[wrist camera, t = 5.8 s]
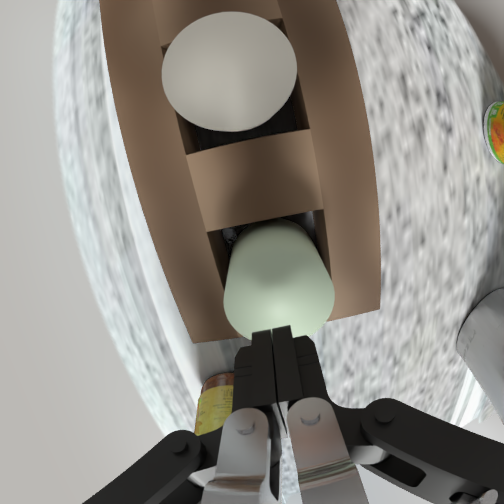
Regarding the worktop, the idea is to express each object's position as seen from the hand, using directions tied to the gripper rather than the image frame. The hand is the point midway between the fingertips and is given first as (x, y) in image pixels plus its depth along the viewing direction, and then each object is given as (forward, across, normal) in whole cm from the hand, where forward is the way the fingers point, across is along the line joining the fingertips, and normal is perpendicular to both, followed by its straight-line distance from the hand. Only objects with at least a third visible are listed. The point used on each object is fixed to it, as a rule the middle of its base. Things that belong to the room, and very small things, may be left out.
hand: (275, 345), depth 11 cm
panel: (+9, -1, -10) cm, 14 cm away
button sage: (+7, 0, 0) cm, 7 cm away
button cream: (+7, -1, -10) cm, 13 cm away
